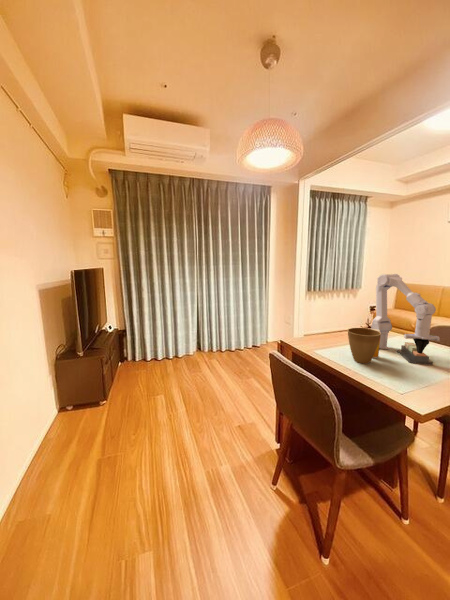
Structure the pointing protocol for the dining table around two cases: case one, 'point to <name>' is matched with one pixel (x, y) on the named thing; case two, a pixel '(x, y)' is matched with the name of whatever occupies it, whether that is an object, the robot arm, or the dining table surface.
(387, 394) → the dining table surface
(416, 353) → the key terracotta
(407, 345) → the key ivory
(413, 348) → the key sage
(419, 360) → the console
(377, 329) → the beer can
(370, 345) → the plant pot
